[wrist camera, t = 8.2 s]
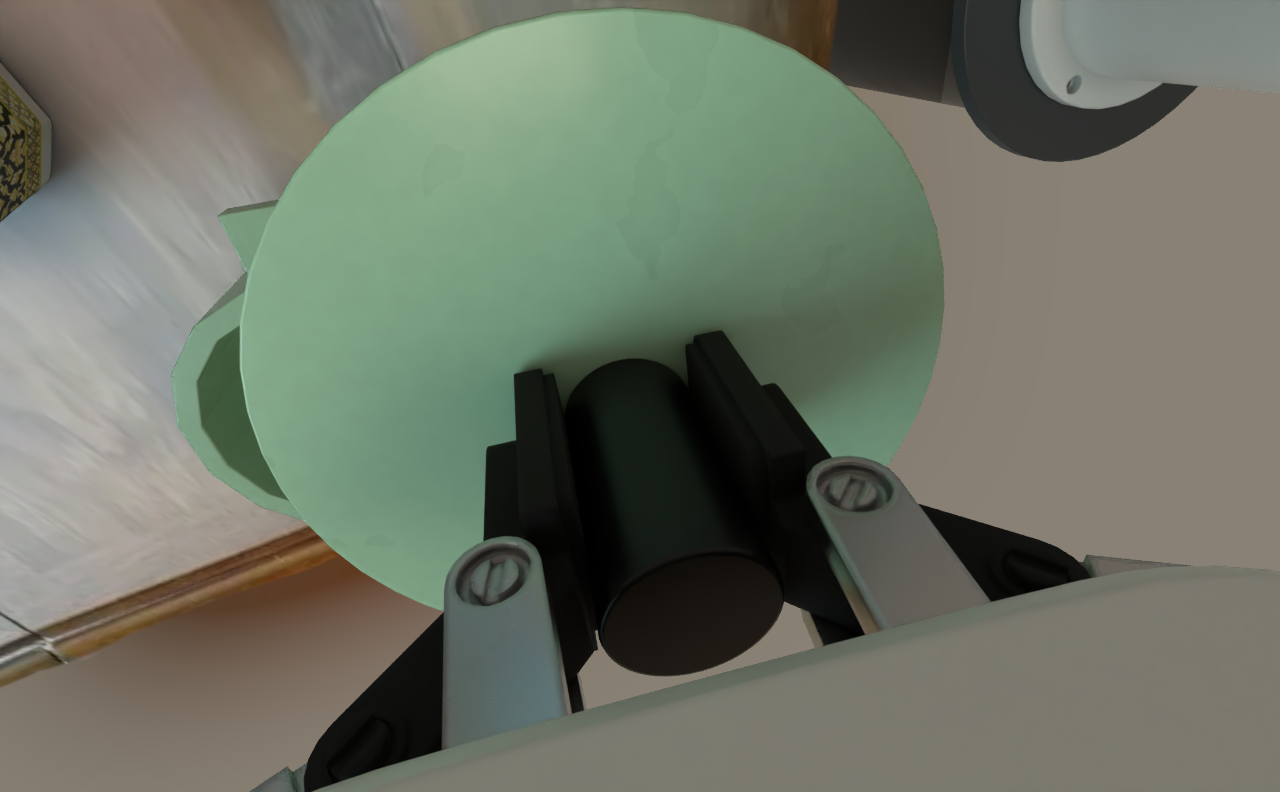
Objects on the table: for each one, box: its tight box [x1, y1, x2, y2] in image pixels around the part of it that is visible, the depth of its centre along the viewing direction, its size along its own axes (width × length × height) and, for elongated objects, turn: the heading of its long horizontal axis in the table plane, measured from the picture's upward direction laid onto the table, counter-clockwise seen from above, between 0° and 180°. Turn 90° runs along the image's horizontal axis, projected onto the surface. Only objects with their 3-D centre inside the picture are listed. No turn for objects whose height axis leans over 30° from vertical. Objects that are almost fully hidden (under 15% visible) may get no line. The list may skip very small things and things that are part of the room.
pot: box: [171, 200, 304, 520], centre depth 29 cm, size 13×18×8 cm
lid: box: [240, 7, 944, 676], centre depth 10 cm, size 14×14×6 cm
